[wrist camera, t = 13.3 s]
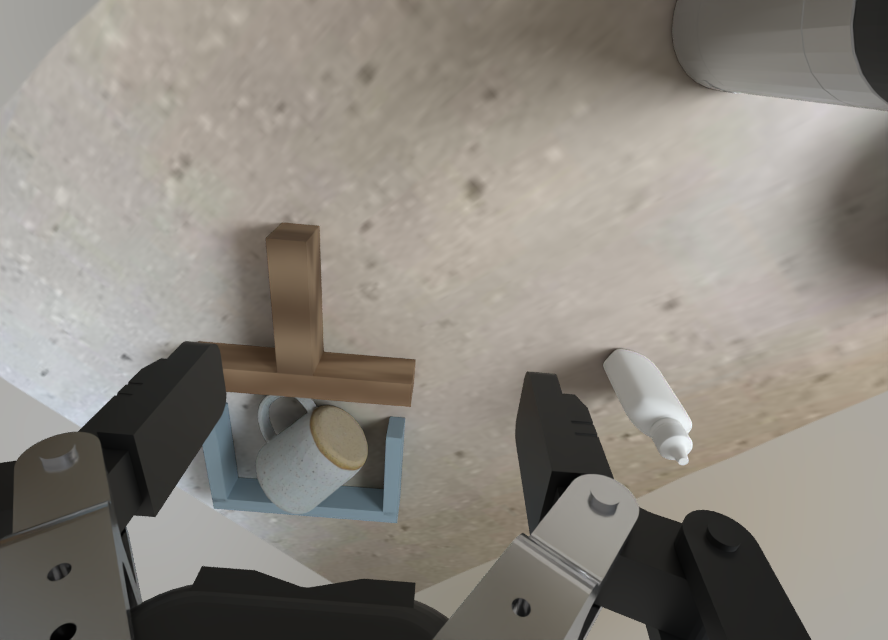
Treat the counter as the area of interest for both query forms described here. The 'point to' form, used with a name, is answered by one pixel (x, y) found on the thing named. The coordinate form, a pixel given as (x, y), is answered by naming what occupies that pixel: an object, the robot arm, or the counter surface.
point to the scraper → (308, 338)
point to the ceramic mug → (308, 455)
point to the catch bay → (339, 504)
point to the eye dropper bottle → (650, 403)
